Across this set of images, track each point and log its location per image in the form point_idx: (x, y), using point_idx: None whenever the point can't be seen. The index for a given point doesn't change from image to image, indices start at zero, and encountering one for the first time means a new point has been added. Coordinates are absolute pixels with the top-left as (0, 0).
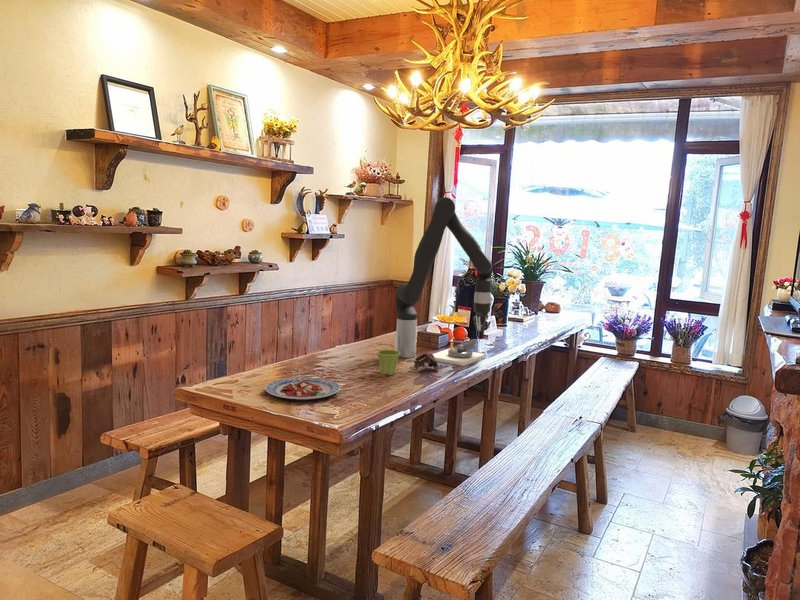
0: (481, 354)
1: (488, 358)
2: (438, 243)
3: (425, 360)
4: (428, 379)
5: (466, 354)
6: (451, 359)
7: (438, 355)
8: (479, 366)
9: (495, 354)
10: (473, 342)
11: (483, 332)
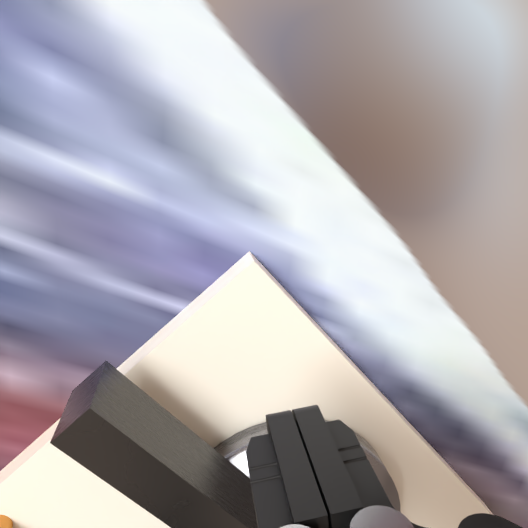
0: (264, 308)
1: (297, 235)
2: None
3: None
4: None
5: (399, 508)
6: None
7: None
8: (524, 405)
9: (115, 64)
10: (117, 421)
11: (386, 502)
